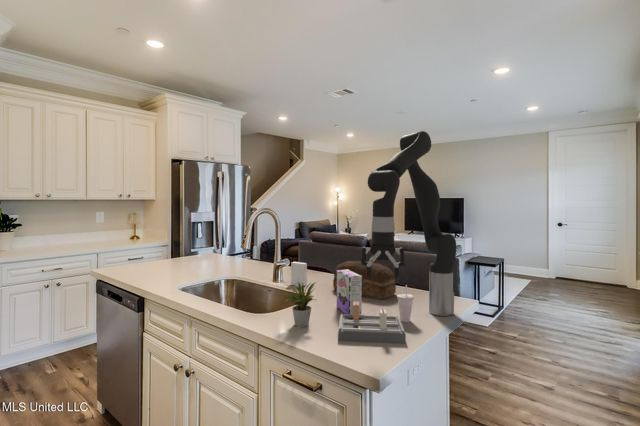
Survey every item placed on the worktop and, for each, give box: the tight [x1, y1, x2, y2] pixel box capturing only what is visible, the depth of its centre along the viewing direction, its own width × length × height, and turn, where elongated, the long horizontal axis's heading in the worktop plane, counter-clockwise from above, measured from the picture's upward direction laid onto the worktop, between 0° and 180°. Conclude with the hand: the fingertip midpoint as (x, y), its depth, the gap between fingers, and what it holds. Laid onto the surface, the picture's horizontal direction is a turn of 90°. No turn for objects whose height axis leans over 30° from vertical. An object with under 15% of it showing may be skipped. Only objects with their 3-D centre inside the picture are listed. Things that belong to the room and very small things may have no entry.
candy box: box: [336, 269, 363, 315], centre depth 146 cm, size 14×6×16 cm, turn 19°
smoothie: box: [396, 284, 415, 323], centre depth 135 cm, size 6×6×14 cm
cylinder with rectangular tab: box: [290, 261, 308, 287], centre depth 193 cm, size 9×9×12 cm
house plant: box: [280, 281, 318, 328], centre depth 132 cm, size 14×14×16 cm
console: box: [337, 313, 407, 344], centre depth 123 cm, size 22×16×4 cm
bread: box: [332, 260, 397, 300], centre depth 177 cm, size 15×32×16 cm, turn 52°
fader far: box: [353, 301, 359, 320], centre depth 127 cm, size 2×4×6 cm, turn 175°
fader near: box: [379, 308, 388, 329], centre depth 118 cm, size 2×4×6 cm, turn 174°
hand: (382, 277), depth 118 cm, fingers open, 8 cm apart
